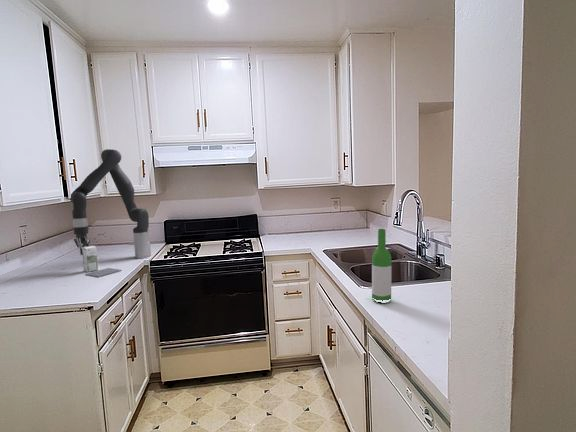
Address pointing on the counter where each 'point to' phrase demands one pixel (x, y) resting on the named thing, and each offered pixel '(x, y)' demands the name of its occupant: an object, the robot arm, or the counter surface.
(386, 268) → the wine bottle
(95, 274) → the mat
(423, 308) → the counter surface
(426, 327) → the counter surface
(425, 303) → the counter surface
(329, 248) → the counter surface
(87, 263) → the syrup box
